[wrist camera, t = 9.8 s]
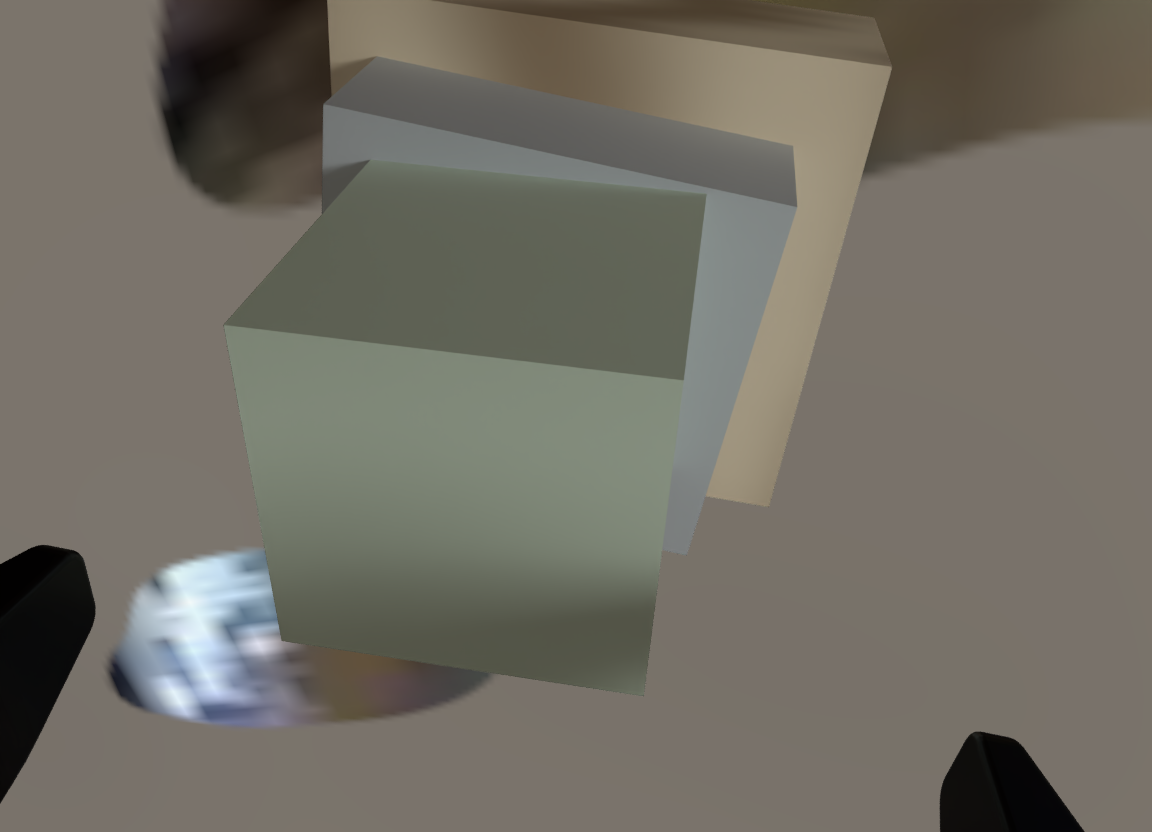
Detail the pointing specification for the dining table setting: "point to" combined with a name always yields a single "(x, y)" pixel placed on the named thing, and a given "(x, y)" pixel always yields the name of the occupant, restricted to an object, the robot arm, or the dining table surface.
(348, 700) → the dining table surface
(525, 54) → the oak base block
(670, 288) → the sage cube
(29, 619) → the robot arm
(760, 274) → the slate slab
